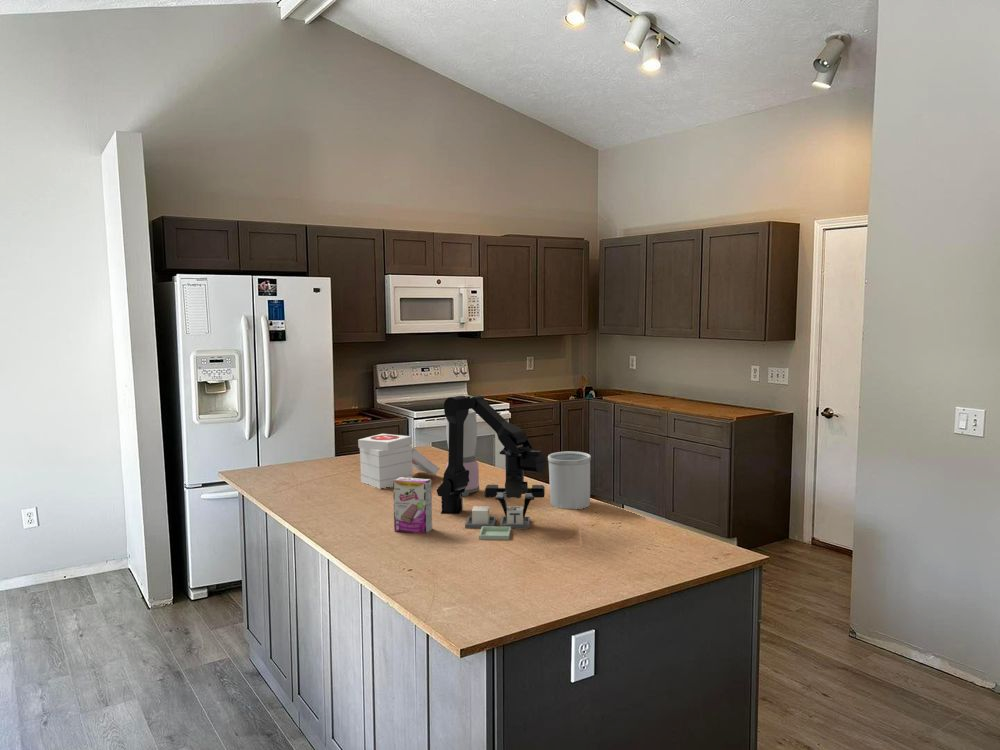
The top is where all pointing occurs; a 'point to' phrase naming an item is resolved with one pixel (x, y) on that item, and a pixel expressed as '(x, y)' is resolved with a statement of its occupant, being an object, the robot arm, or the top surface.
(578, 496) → the utensil holder
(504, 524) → the tray right
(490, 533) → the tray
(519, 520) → the letter cube
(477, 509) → the blank cube
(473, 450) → the blender
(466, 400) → the robot arm
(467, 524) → the tray left
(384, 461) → the pizza boxes
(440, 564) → the top surface
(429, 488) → the candy bar box
